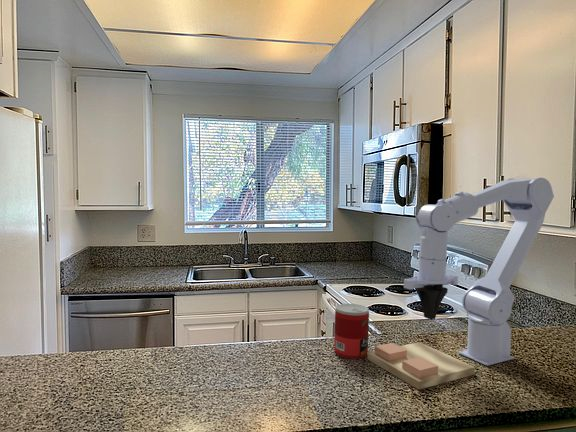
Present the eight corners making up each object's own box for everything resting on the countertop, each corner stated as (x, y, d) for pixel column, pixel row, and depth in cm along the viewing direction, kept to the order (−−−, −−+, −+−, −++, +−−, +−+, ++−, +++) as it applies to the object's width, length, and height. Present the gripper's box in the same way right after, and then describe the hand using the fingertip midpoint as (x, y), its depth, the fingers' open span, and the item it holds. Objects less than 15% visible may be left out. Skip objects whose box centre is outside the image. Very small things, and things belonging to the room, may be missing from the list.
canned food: (367, 361, 94) (369, 313, 93) (332, 357, 95) (333, 311, 95) (368, 348, 101) (369, 304, 100) (335, 345, 103) (336, 302, 102)
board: (419, 348, 102) (419, 342, 102) (474, 374, 88) (474, 367, 88) (367, 359, 95) (367, 352, 95) (418, 389, 80) (418, 381, 80)
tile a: (391, 342, 96) (374, 346, 94) (406, 350, 92) (389, 354, 90) (391, 349, 96) (374, 353, 94) (406, 357, 92) (389, 361, 90)
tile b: (420, 356, 88) (402, 360, 86) (438, 365, 84) (420, 370, 82) (419, 364, 88) (402, 368, 86) (437, 373, 84) (419, 378, 82)
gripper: (441, 254, 99) (439, 309, 99) (395, 256, 92) (392, 316, 93) (466, 258, 92) (463, 318, 93) (418, 262, 86) (415, 326, 86)
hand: (429, 318), depth 92 cm, fingers closed
